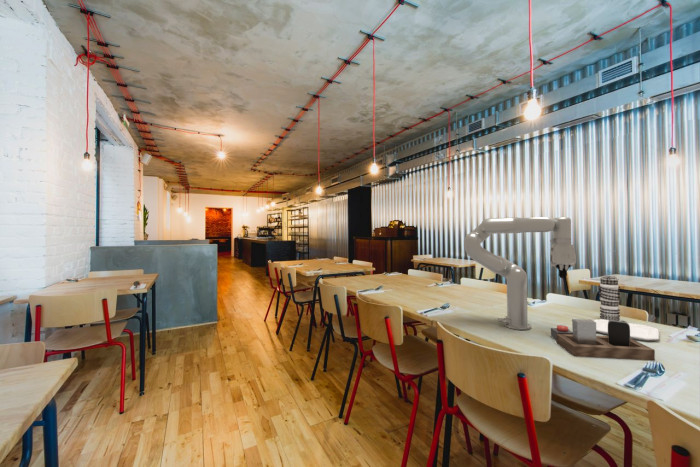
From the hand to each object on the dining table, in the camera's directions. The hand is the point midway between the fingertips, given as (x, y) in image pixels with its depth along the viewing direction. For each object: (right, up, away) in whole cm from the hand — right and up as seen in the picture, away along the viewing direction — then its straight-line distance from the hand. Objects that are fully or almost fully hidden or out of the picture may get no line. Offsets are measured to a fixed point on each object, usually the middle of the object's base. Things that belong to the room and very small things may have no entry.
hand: (562, 277), depth 153 cm
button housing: (-8, -27, -11) cm, 30 cm away
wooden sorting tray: (-1, -27, -25) cm, 37 cm away
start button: (-8, -23, -11) cm, 27 cm away
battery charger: (+5, -26, -26) cm, 37 cm away
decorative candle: (+37, -27, +15) cm, 48 cm away
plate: (+29, -27, -2) cm, 40 cm away
